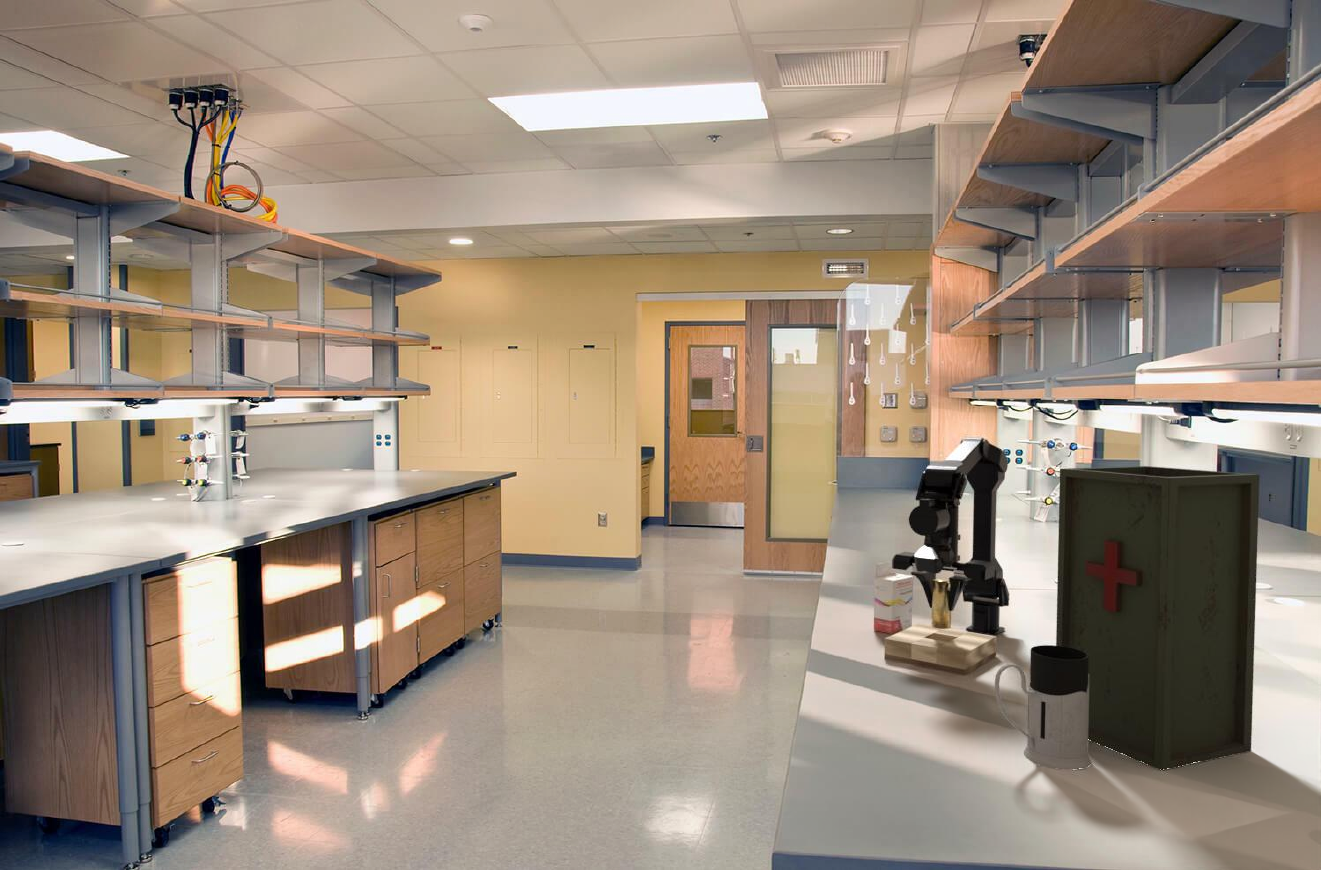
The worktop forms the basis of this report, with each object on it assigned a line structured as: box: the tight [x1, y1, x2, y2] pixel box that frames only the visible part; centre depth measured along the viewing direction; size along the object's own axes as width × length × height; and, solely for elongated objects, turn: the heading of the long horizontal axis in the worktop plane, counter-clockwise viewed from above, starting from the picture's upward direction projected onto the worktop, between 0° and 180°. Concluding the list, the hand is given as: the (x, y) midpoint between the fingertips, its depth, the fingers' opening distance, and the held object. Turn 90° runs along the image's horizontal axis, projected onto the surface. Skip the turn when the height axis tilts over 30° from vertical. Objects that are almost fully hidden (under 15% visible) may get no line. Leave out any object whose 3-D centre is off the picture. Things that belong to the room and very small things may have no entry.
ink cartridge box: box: [873, 560, 914, 635], centre depth 200 cm, size 9×5×15 cm, turn 135°
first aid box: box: [1055, 465, 1260, 771], centre depth 135 cm, size 18×18×40 cm
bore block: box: [884, 623, 997, 676], centre depth 178 cm, size 16×16×4 cm
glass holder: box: [994, 644, 1092, 770], centre depth 127 cm, size 9×14×15 cm, turn 102°
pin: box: [931, 578, 952, 629], centre depth 178 cm, size 4×4×9 cm
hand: (941, 609), depth 178 cm, fingers closed on pin, 4 cm apart
